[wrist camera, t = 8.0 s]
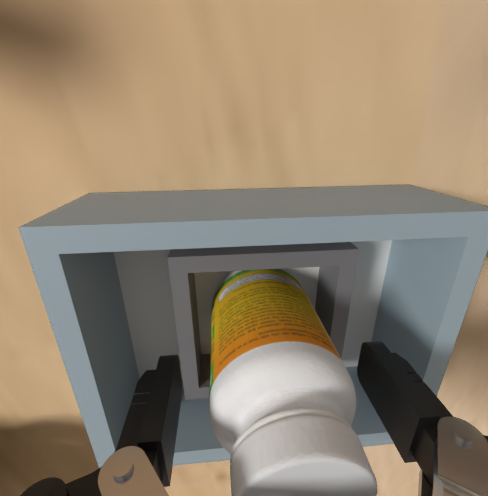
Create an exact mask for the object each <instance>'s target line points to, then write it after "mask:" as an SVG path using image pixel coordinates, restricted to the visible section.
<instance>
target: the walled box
mask: <svg viewBox="0 0 488 496" xmlns="http://www.w3.org/2000/svg"><path fill="white" fill-rule="evenodd" d="M18 228H19V231H20V234H21V237H22V240H23V243H24V245H25V248H26V251H27V254H28V257H29V260H30V263H31V266H32V269H33V272H34V275H35V278H36V281H37V284H38V287H39V290H40V293H41V296H42V299H43V302H44V305H45V308H46V311H47V314H48V317H49V320H50V323H51V326H52V329H53V332H54V335H55V338H56V341H57V344H58V347H59V350H60V353H61V356H62V359H63V362H64V365H65V368H66V371H67V374H68V377H69V380H70V383H71V386H72V389H73V392H74V395H75V398H76V401H77V404H78V407H79V410H80V413H81V416H82V419H83V422H84V425H85V428H86V431H87V434H88V437H89V440H90V443H91V446H92V449H93V452H94V455H95V457H96V460H97V463H98V466H99V468H100V467H102V466H103V464H104V462H105V461H106V460H107V459H108V458H109V457H110V456H111V455H112V454H113V453H114V451H115V450H116V447H117V445H118V442H119V439H120V435H121V432H122V429H123V426H124V423H125V420H126V417H127V413H128V410H129V407H130V406H131V401H132V398H133V396H134V392H135V388H136V385H137V382H138V380H139V379H140V378H141V376H142V375H143V374H144V373H145V371H146V370H156V368H157V364H158V360H159V357H160V356H166V355H178V356H179V362H180V370H181V378H182V398H181V406H180V413H179V421H178V428H177V436H176V443H175V450H174V458H173V465H183V464H193V463H203V462H214V461H224V460H230V457H231V454H230V453H229V452H227V451H226V450H225V449H224V448H223V447H222V445H221V444H220V443H219V441H218V440H217V438H216V436H215V434H214V432H213V429H212V426H211V423H210V417H209V388H210V357H211V310H212V301H213V297H214V294H215V291H216V289H217V287H218V286H219V284H220V283H221V282H222V281H223V280H224V279H225V278H226V277H227V276H228V275H229V274H230V273H232V272H233V271H241V270H262V269H282V268H283V269H285V270H287V271H288V272H290V273H291V274H292V275H293V276H295V277H296V279H297V280H298V281H299V282H300V284H301V286H302V287H303V289H304V291H305V293H306V295H307V296H308V298H309V300H310V302H311V304H312V306H313V307H314V309H315V311H316V313H317V315H318V317H319V319H320V321H321V322H322V324H323V326H324V328H325V330H326V332H327V334H328V335H329V337H330V339H331V341H332V343H333V345H334V347H335V348H336V350H337V352H338V354H339V356H340V358H341V359H342V361H343V363H344V365H345V367H346V369H347V371H348V373H349V375H350V377H351V379H352V382H353V384H354V388H355V392H356V412H355V416H354V420H353V422H352V424H351V427H352V429H353V430H354V432H355V433H356V435H357V436H358V438H359V440H360V442H361V444H362V447H364V446H375V445H385V444H394V443H393V441H392V439H391V437H390V435H389V434H388V432H387V430H386V428H385V427H384V425H383V423H382V421H381V420H380V418H379V416H378V414H377V412H376V411H375V409H374V407H373V405H372V404H371V402H370V400H369V398H368V396H367V395H366V393H365V391H364V389H363V388H362V386H361V384H360V382H359V379H358V375H357V366H358V361H359V355H360V350H361V345H362V343H363V342H374V341H381V342H383V343H384V344H385V345H386V347H387V348H388V349H389V351H390V352H391V353H397V354H398V355H400V356H401V357H402V358H404V359H405V360H406V361H408V363H409V364H410V365H411V366H412V367H413V369H414V370H415V371H416V374H418V375H419V376H420V377H421V378H422V380H423V382H425V383H426V384H427V386H428V387H429V388H430V389H431V390H432V392H433V393H434V394H435V395H436V396H437V393H438V390H439V387H440V385H441V382H442V379H443V376H444V373H445V370H446V368H447V365H448V362H449V359H450V356H451V353H452V350H453V348H454V345H455V342H456V339H457V336H458V333H459V331H460V328H461V325H462V322H463V319H464V316H465V314H466V311H467V308H468V305H469V302H470V299H471V296H472V294H473V291H474V288H475V285H476V282H477V279H478V277H479V274H480V271H481V268H482V265H483V262H484V260H485V257H486V254H487V251H488V207H487V206H484V205H480V204H477V203H473V202H469V201H466V200H462V199H459V198H455V197H452V196H448V195H445V194H441V193H437V192H434V191H430V190H427V189H423V188H420V187H416V186H413V185H373V186H335V187H297V188H259V189H222V190H184V191H146V192H109V193H88V194H86V195H84V196H82V197H80V198H78V199H76V200H74V201H72V202H70V203H68V204H66V205H63V206H61V207H59V208H57V209H55V210H53V211H51V212H49V213H47V214H45V215H43V216H41V217H39V218H37V219H35V220H33V221H31V222H29V223H26V224H24V225H22V226H20V227H18ZM173 465H172V466H173Z"/></svg>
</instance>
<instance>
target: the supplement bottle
mask: <svg viewBox="0 0 488 496" xmlns="http://www.w3.org/2000/svg"><path fill="white" fill-rule="evenodd" d="M355 412H356V392H355V388H354V384H353V382H352V379H351V377H350V375H349V373H348V371H347V369H346V367H345V365H344V363H343V361H342V359H341V358H340V356H339V354H338V352H337V350H336V348H335V347H334V345H333V343H332V341H331V339H330V337H329V335H328V334H327V332H326V330H325V328H324V326H323V324H322V322H321V321H320V319H319V317H318V315H317V313H316V311H315V309H314V307H313V306H312V304H311V302H310V300H309V298H308V296H307V295H306V293H305V291H304V289H303V287H302V286H301V284H300V282H299V281H298V280H297V279H296V277H295V276H293V275H292V274H291V273H290V272H288V271H287V270H285V269H283V268H282V269H262V270H241V271H233V272H232V273H230V274H229V275H228V276H227V277H226V278H225V279H224V280H223V281H222V282H221V283H220V284H219V286H218V287H217V289H216V291H215V294H214V297H213V301H212V310H211V357H210V388H209V417H210V423H211V426H212V429H213V432H214V434H215V436H216V438H217V440H218V441H219V443H220V444H221V445H222V447H223V448H224V449H225V450H226V451H227V452H229V453H230V454H231V457H230V463H231V465H230V476H231V493H232V496H376V495H377V482H376V478H375V475H374V473H373V471H372V469H371V466H370V464H369V462H368V459H367V457H366V455H365V452H364V450H363V447H362V444H361V442H360V440H359V438H358V436H357V435H356V433H355V432H354V430H353V429H352V427H351V424H352V422H353V420H354V416H355Z"/></svg>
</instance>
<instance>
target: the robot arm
mask: <svg viewBox="0 0 488 496" xmlns="http://www.w3.org/2000/svg"><path fill="white" fill-rule="evenodd" d="M357 375H358V379H359V382H360V384H361V386H362V388H363V389H364V391H365V393H366V395H367V396H368V398H369V400H370V402H371V404H372V405H373V407H374V409H375V411H376V412H377V414H378V416H379V418H380V420H381V421H382V423H383V425H384V427H385V428H386V430H387V432H388V434H389V435H390V437H391V439H392V441H393V443H394V444H395V446H396V448H397V450H398V451H399V453H400V455H401V457H402V459H403V460H404V462H405V463H407V462H417V463H418V465H419V466H420V468H421V470H420V473H419V489H418V496H488V436H485V435H482V433H481V432H480V431H479V430H478V429H476V428H475V427H474V426H472V425H471V424H470V423H468V422H466V421H464V420H462V419H459V418H456V417H453V416H452V415H451V414H450V412H449V411H448V410H447V409H446V407H445V406H444V405H443V404H442V403H441V401H440V400H439V399H438V398H437V397H436V395H435V394H434V393H433V392H432V390H431V389H430V388H429V387H428V386H427V384H426V383H425V382H423V380H422V378H421V377H420V376H419V375H418V374H416V371H415V370H414V369H413V367H412V366H411V365H410V364H409V363H408V361H406V360H405V359H404V358H402V357H401V356H400V355H398V354H397V353H391V352H390V351H389V349H388V348H387V347H386V345H385V344H384V343H383V342H381V341H374V342H363V343H362V345H361V350H360V355H359V361H358V366H357ZM181 398H182V378H181V370H180V362H179V356H178V355H166V356H160V357H159V360H158V364H157V368H156V370H146V371H145V373H144V374H143V375H142V376H141V378H140V379H139V380H138V382H137V385H136V388H135V392H134V396H133V398H132V401H131V406H130V407H129V410H128V413H127V417H126V420H125V423H124V426H123V429H122V432H121V435H120V439H119V442H118V445H117V447H116V450H115V451H114V453H113V454H112V455H111V456H110V457H109V458H108V459H107V460H106V461H105V462H104V464H103V466H102V467H100V468H99V469H98V470H96V471H94V472H93V473H91V474H89V475H86V476H84V477H82V478H79V479H77V480H75V481H72V482H70V483H68V484H65V483H64V482H63V481H62V480H61V479H59V478H47V479H43V480H41V481H39V482H37V483H35V484H34V485H32V486H31V487H29V488H28V489H27V490H26V491H24V492H23V493H22V494H21V495H20V496H169V495H168V494H167V492H166V490H165V488H164V487H167V486H170V480H171V473H172V465H173V458H174V450H175V443H176V436H177V428H178V421H179V413H180V406H181Z"/></svg>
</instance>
